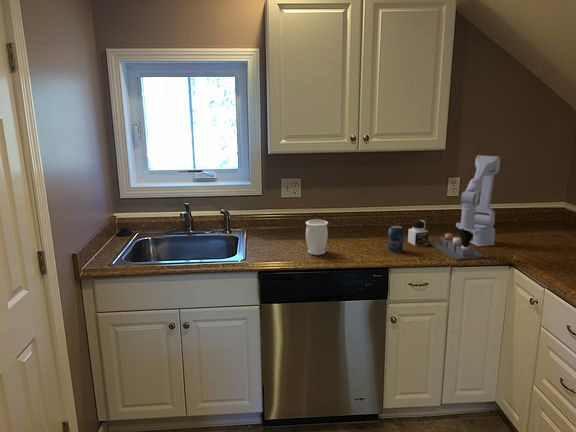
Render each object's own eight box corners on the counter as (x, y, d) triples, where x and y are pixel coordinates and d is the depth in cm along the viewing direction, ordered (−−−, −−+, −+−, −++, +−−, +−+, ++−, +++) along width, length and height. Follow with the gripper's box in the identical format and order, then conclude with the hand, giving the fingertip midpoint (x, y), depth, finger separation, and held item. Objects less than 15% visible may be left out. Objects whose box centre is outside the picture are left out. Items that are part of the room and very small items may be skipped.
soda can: (387, 252, 212) (389, 228, 209) (387, 248, 219) (388, 224, 216) (403, 253, 211) (404, 229, 208) (401, 249, 217) (403, 225, 214)
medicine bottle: (415, 246, 221) (416, 222, 218) (407, 242, 228) (408, 219, 225) (427, 244, 223) (429, 221, 220) (420, 240, 230) (421, 218, 227)
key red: (449, 238, 222) (450, 233, 221) (453, 241, 218) (454, 235, 218) (443, 239, 221) (443, 233, 220) (447, 241, 218) (447, 235, 217)
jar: (305, 248, 219) (305, 219, 215) (326, 248, 219) (327, 219, 215) (305, 256, 209) (305, 225, 205) (328, 256, 209) (328, 225, 205)
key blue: (466, 251, 209) (466, 244, 208) (470, 253, 205) (471, 247, 205) (459, 251, 208) (459, 245, 207) (463, 254, 205) (464, 247, 204)
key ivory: (457, 243, 215) (458, 237, 214) (462, 245, 212) (462, 239, 211) (450, 243, 214) (451, 237, 214) (455, 245, 211) (455, 239, 210)
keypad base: (454, 242, 227) (455, 234, 226) (484, 257, 204) (485, 249, 203) (429, 244, 224) (430, 236, 223) (457, 260, 201) (457, 251, 200)
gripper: (451, 214, 209) (448, 242, 212) (469, 222, 195) (466, 251, 198) (464, 213, 210) (462, 241, 213) (484, 221, 196) (481, 250, 200)
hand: (465, 246), depth 206 cm, fingers closed
